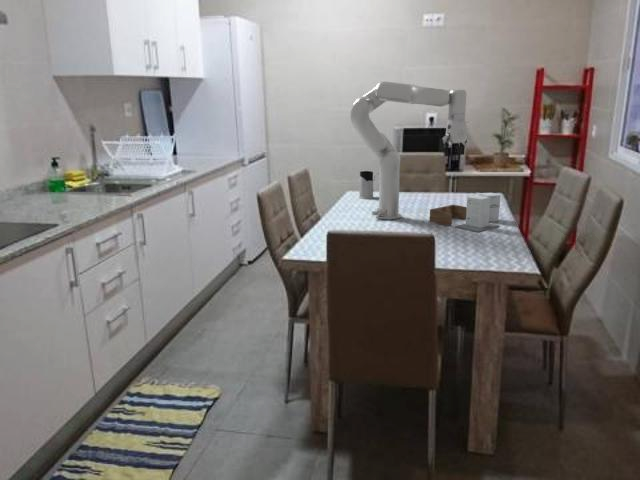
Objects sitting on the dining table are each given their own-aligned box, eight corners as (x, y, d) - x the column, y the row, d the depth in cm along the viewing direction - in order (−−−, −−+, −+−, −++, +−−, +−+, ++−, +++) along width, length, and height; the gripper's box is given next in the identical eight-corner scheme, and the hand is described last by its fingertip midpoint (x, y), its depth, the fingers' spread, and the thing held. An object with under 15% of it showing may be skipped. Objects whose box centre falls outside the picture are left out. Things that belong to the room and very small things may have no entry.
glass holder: (355, 197, 310) (356, 171, 306) (376, 194, 316) (376, 169, 312) (363, 199, 302) (364, 173, 298) (384, 197, 309) (384, 171, 305)
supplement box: (484, 222, 246) (486, 195, 242) (476, 219, 253) (478, 193, 249) (498, 221, 248) (501, 194, 244) (489, 218, 255) (491, 192, 251)
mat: (477, 232, 228) (477, 231, 228) (455, 227, 237) (455, 226, 237) (499, 226, 238) (499, 225, 237) (476, 222, 247) (476, 220, 247)
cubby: (449, 226, 239) (450, 213, 237) (429, 221, 248) (430, 209, 246) (473, 220, 249) (473, 208, 247) (452, 216, 258) (453, 204, 256)
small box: (488, 226, 236) (491, 197, 233) (480, 228, 233) (482, 199, 229) (473, 222, 242) (475, 195, 239) (465, 225, 239) (466, 196, 235)
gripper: (451, 118, 233) (448, 157, 238) (475, 117, 243) (472, 154, 248) (437, 118, 239) (435, 156, 243) (461, 116, 249) (459, 153, 253)
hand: (454, 155), depth 245 cm, fingers open, 9 cm apart
